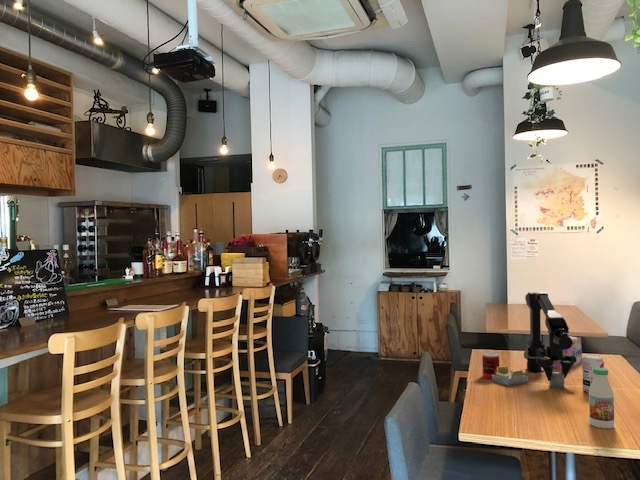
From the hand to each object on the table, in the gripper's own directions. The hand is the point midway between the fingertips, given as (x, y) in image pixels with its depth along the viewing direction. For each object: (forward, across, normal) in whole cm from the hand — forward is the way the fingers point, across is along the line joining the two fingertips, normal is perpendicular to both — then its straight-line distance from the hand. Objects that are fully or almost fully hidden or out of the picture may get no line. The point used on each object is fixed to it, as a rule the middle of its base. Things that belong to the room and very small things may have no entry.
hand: (556, 379), depth 223 cm
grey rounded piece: (+3, 0, 0) cm, 3 cm away
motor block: (+3, +12, -16) cm, 20 cm away
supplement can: (+4, -8, +12) cm, 15 cm away
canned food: (+4, +14, -26) cm, 30 cm away
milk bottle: (+4, +24, +40) cm, 47 cm away
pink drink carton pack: (+4, -37, -26) cm, 45 cm away
